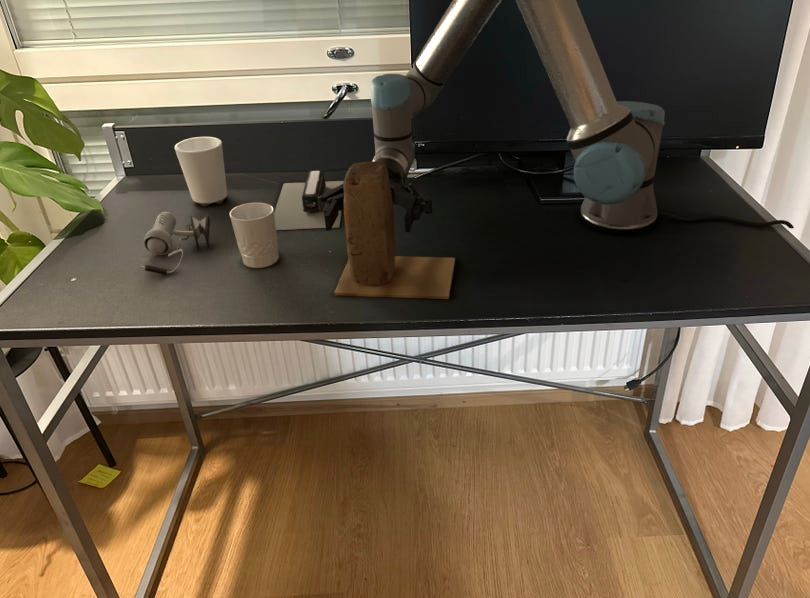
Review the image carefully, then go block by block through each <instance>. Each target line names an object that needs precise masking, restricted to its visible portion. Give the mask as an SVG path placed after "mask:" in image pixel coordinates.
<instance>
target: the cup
mask: <svg viewBox="0 0 810 598" xmlns="http://www.w3.org/2000/svg"><path fill="white" fill-rule="evenodd" d="M174 151H175V153H176V156H177V159H178V163H179V165H180V167H181V171H182V172H183V177H184V180H185V182H186V185H187V188H188V190H189V194H190V197H191V199H192V201H193V203H194V204H200V205H201V206H203V207H208V206H210V205H211V204H217V205H220V204H222V203H223V202H224V200H225V199H226V198H228V189H227V179H226V170H225V160H224V149H223V141H222V140H221V139H220V138H217V137H214V136H196V137H190V138H187V139H183V140H181V141H179V142H177V143H176V144H175V145H174Z"/></svg>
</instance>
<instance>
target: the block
mask: <svg viewBox="0 0 810 598" xmlns="http://www.w3.org/2000/svg"><path fill="white" fill-rule="evenodd" d="M343 181H344V183H343V187H344V209H343V216H344V231H345V241H346V251H347V257H348V259H349V265H350V272H351V276H352V279H353V281H354V282H356V283H358V284H360V283H361V284H363V285H380V284H383V283H385V282H389V281H390V280H391V279H392V277H393V274H394V269H395V256H396V235H395V233H396V232H395V231H396V230H395V217H394V216H395V215H394V206H393V205H394V204H393V203H392V194H391V188H390V182H389V175H388V169H387V166H386V165H385V164H384V163H382V162H375V161H371V160H369V161H361V162H360V161H359V162H354V163H353V164H351V165H350V166H349V168H348V170H347V171H346V173H345V176H344V179H343Z"/></svg>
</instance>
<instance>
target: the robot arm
mask: <svg viewBox="0 0 810 598" xmlns="http://www.w3.org/2000/svg"><path fill="white" fill-rule="evenodd" d="M502 1H503V0H452V1H451V2H450V4H449V6H448V7H447V9H446V10H445V12H444V13H443V15H442V16H441V18H440V20H439V21H438V23H437V25H436V26H435V28H434V30H433V32H432V33H431V35H430V36H429V38H428V40H427V41H426V43H425V44H424V46H423V47H422V48H421V51H420V52H419V54H418V56H416V59H415V60H414V62H413V64H412V65H413V68H412V66H410V69H408V72H407V73H406V74H405V75H404V74H401V73H385V74H381V75H377V76H375V77H374V78H373V79H371V83H370V104H371V113H372V124H373V135H374V136H373V139H374V150H375V151H374V152H375V153H374V157H373V159H372V161H375V162H382V163H384V164H385V165H386V166H387V169H388V175H389V182H390V188H391V194H392V204H393V205H395V206H397V205H399V206H401V207H402V208H404V209H405V210H406V212H405V214H404V232H405V233H411V230H412V226H413V223H414V221H419V220H420V219H421V215H422V213H425V214H426V215H427V214H428V215H429V214H432V213H433V199H432V198H431V196H429V194H427V192H426V191H425V190H424V189H423V188H422V187H421V186H420V184H419V180H416V179H415V180H412V181H411V182H410V183H409V184H406V182H407V179H408V176H409V173H410V171H411V168H412V166H413V164H414V161H415V158H416V157H415V156H416V147H415V143H414V141H413V133H412V131H413V129H412V119H413V118H415V116H418V115H419V114H420V113H422V112H423V111H424V110H426V109H428V108H430V107H431V106H432V105H431V104H432V103H433V102H434V100H435V99H436V97H437V95H438V94H439V92H440V91H441V89H442V88H443V87H445V85H446V83H447V82H448V80H449V79H450V78H451V76H452V74H453V72H454V71H455V70H456V69H457V67H458V65H459V64H460V63H461V61H462V59H463V58H464V57H465V55H466V54H467V52H468V51H469V49H470V48H471V47H472V45H473V43H474V42H475V41H476V39H477V38H478V36H479V34H480V33H481V32H482V30H483V29H484V28H485V27H486V25H487V23H488V22H489V20H490V18H492V16H493V14H494V12H495V11H496V10H497V8H498V7H499V5H500V4H501V2H502ZM515 2H516V4H517V6H518V9H519V12H520V14H521V16H522V18H523V20H524V23H525V25H526V28H527V29H528V32H529V34H530V36H531V39H532V42H533V43H534V46H535V49H536V50H537V53H538V55H539V57H540V61H541V62H542V65H543V67H544V70H545V71H546V74H547V76H548V78H549V80H550V83H551V85H552V88H553V90H554V92H555V95H556V97H557V100H558V101H559V104H560V106H561V109H562V110H563V113H564V116H565V117H566V120H567V122H568V124H569V131H568V134H567V137H566V142H567V143H566V144H567V145H568V146H569V150H570V153H571V154H572V157H573V159H574V166H573V181H574V184H575V185H576V188H577V189H578V191H579V192H580V193H581V194H582V195H583V201H582V204H581V205H580V213H579V219H580V220H581V221H582V223H583V224H585V225H586V226H588V227H589V228H591V229H593V230H596V231H598V232H603V233H607V234H614V235H634V234H640V233H643V232H644V233H645V232H646V231H649V230H651V229H653V228H654V226H655V225H656V223H657V219H658V216H662V217H664V218H665V217H666V218H669V219H672V220H675V221H678V222H689V223H690V222H700V221H707V220H718V221H726V222H731V223H736V224H740V225H744V226H748V227H749V226H750V227H758V228H764V227H772V226H775V225H783V226H786V227H787V228H788V229H795V227H794V225H793V224H792V223H791V222H790V221H788V220H785V219H776V220H772V221H765V222H756V221H750V220H744V219H741V218H736V217H732V216H726V215H717V214H716V215H715V214H714V215H710V214H709V215H701V216H693V217H690V216H689V217H687V216H678V215H675V214H673V213H669V212H665V211H661V210H658V207H657V199H656V194H655V189H654V181H655V174H656V168H657V164H658V163H657V162H658V157H659V151H660V146H661V139H662V133H663V129H664V126H665V125H666V123H665V113H666V112H665V109H663V107H661V106H659V105H657V104H653V103H648V102H643V101H642V102H641V101H629V100H627V101H626V100H622V101H621V100H619V101H617V98H616V97H615V95H614V94H615V93H614V92H613V90H612V87H611V84H610V82H609V79H608V77H607V74H606V72H605V69H604V66H603V64H602V62H601V59H600V56H599V54H598V52H597V48H596V47H595V44H594V41H593V39H592V36H591V34H590V32H589V29H588V27H587V24H586V21H585V19H584V17H583V14H582V12H581V9H580V7H579V5H578V2H577V0H515ZM430 105H431V106H430ZM318 201H319V208H320V211H324V218H325V225H326V228H325V231H326V232H328V231H329V232H331V230H332V229H333V228H332V227H333V225H334V223H335V221H336V219H337V217H338V215H339V213H338V211H340V210H343V211H344V187H343V184H341V185H340V186H338V187H336V188H334V189H332V190H331V191H329V192H327V193H325V194H323V195H321V196H320V197H318Z"/></svg>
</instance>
